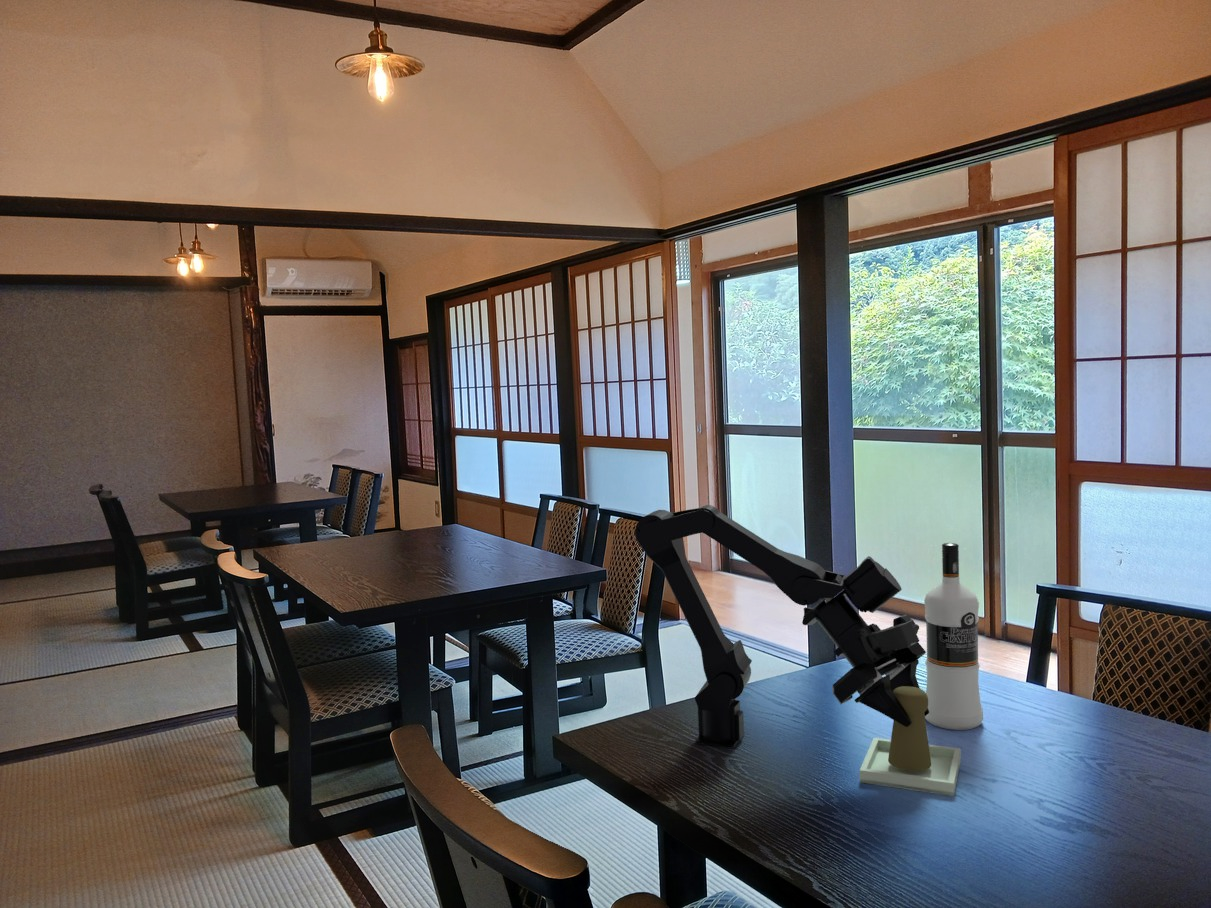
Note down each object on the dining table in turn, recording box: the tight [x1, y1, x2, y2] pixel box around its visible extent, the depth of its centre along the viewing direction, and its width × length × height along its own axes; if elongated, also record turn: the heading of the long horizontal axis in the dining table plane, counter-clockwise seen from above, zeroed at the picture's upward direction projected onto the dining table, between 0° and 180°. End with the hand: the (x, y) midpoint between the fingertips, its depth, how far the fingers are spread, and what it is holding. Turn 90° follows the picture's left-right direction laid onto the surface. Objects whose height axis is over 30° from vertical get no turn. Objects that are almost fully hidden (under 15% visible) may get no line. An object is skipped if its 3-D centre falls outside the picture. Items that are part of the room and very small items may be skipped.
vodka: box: [924, 542, 984, 731], centre depth 148 cm, size 9×9×30 cm
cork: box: [888, 686, 931, 771], centre depth 131 cm, size 6×6×11 cm
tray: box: [859, 737, 962, 797], centre depth 131 cm, size 13×13×2 cm
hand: (918, 719), depth 130 cm, fingers closed on cork, 5 cm apart
